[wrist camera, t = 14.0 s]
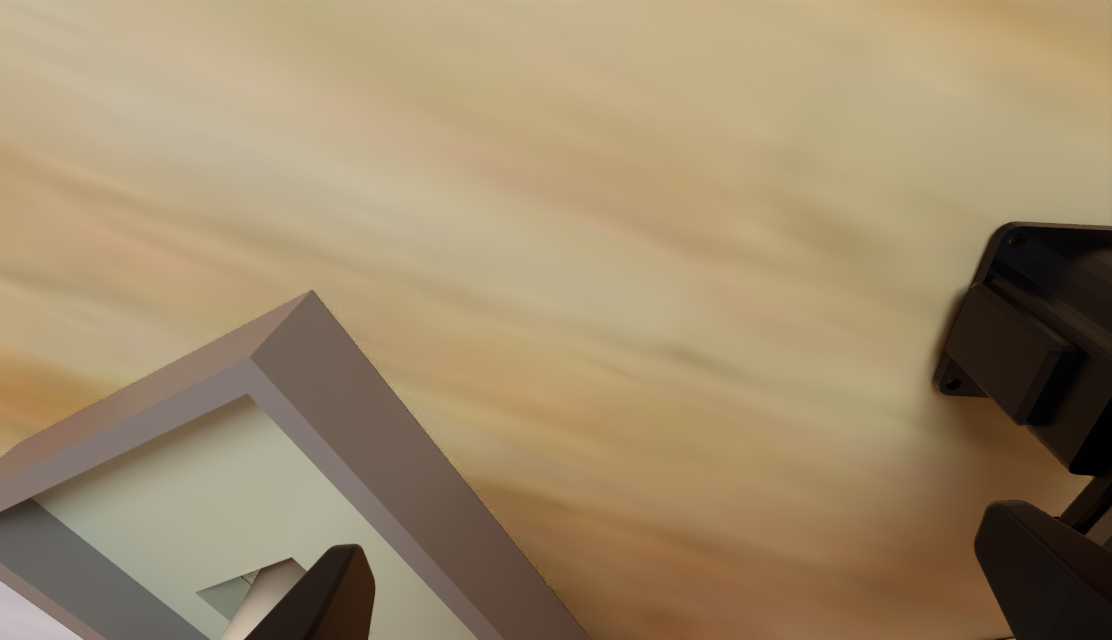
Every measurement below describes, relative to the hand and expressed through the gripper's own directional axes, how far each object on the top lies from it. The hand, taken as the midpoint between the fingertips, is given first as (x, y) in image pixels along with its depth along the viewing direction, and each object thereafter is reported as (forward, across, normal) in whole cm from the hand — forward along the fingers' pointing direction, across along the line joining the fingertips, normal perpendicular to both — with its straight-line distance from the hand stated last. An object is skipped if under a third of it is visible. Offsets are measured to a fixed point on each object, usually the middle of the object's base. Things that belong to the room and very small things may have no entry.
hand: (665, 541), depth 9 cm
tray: (+13, +14, +16) cm, 25 cm away
